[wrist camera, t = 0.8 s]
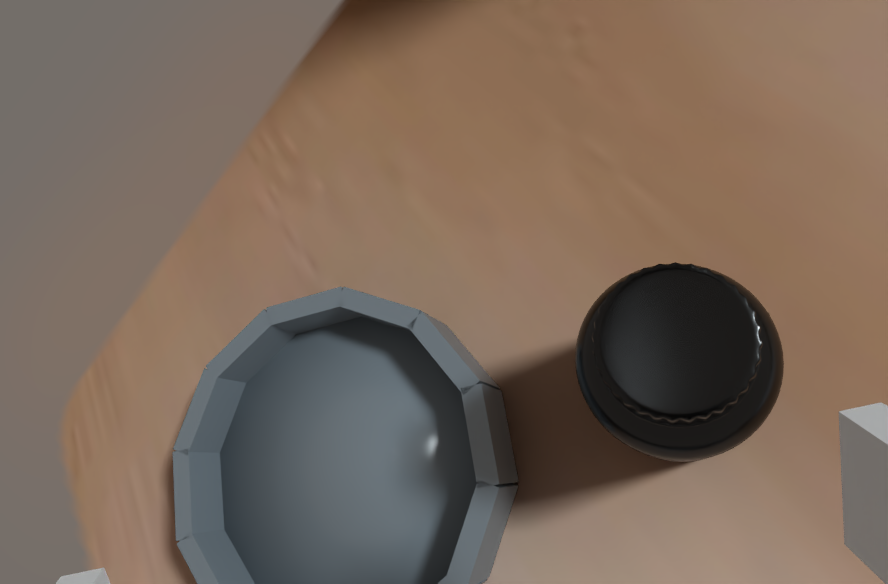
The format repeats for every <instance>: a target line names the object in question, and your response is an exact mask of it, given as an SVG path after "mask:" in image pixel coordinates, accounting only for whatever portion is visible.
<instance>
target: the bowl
mask: <svg viewBox="0 0 888 584" xmlns="http://www.w3.org/2000/svg"><path fill="white" fill-rule="evenodd" d="M266 309H267V310H265V309H264V310H263V311H262V312H261V313H260V314H259V315H258V316H257V317H255V318H254V319H253V320H252V321H251V322H250V323H249V324H248V325H247V326H246V327H245V328H244V329H243V330H242V331H241V332H240V333H239V334H238V335H237V336H236V337H235V338H234V339H233V340H232V341H231V342H230V343H229V344H228V345H227V346H226V347H225V348H224V349H223V350H222V351H221V352H220V353H219V354H218V355H217V356H216V357H215V358H213V359H212V360H211V361H210V362H209V363H208V364H207V365H206V367H207V369H205V368H204V370H203V373H202V376H201V378H200V381H199V383H198V386H197V388H196V391H195V394H194V396H193V399H192V401H191V404H190V407H189V409H188V412H187V414H186V417H185V419H184V422H183V425H182V427H181V430H180V432H179V435H178V438H177V440H176V443H175V445H174V448H173V449H174V450H176V451H174V452H173V476H174V503H175V530H176V541H179V540H180V541H179V542H178V543H177V546H178V547H179V549H180V551H181V553H182V555H183V557H184V559H185V561H186V563H187V565H188V566H189V568H190V570H191V572H192V574H193V576H194V578H195V580H196V582H197V584H483V583H484V582H485V581H486V580H487V578H488V577H489V576H490V573H491V570H492V567H493V564H494V560H495V557H496V554H497V551H498V548H499V545H500V542H501V539H502V535H503V532H504V529H505V526H506V523H507V520H508V517H509V514H510V510H511V507H512V504H513V501H514V498H515V495H516V492H517V489H518V485H516V484H514V483H516V482H519V481H518V476H517V470H516V465H515V460H514V455H513V449H512V444H511V439H510V433H509V428H508V423H507V418H506V412H505V407H504V402H503V396H502V391H500V390H499V389H500V388H499V386H498V385H497V384H496V383H495V382H494V380H493V379H492V378H491V377H490V376H489V375H488V373H487V372H486V371H485V370H484V369H483V368H482V366H481V365H480V364H479V363H478V362H477V360H476V359H475V358H474V357H473V356H472V355H471V353H470V352H469V351H468V350H467V349H466V348H465V346H464V345H463V344H462V343H461V342H460V341H459V339H458V338H457V337H456V336H455V335H454V333H453V332H452V331H451V330H450V329H449V328H448V326H447V325H445V324H444V323H442V322H440V321H438V320H437V319H435V318H433V317H431V316H429V315H428V314H426V313H424V312H422V311H421V310H418V309H415V308H412V307H408V306H405V305H402V304H399V303H395V302H392V301H389V300H385V299H382V298H379V297H376V296H372V295H369V294H366V293H363V292H359V291H356V290H353V289H350V288H346V287H338V288H335V289H331V290H327V291H324V292H320V293H317V294H313V295H310V296H306V297H303V298H299V299H296V300H292V301H289V302H285V303H281V304H278V305H274V306H271V307H267V308H266Z"/></svg>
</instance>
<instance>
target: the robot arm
mask: <svg viewBox="0 0 888 584" xmlns="http://www.w3.org/2000/svg"><path fill="white" fill-rule="evenodd" d="M839 429H840V452H841V475H842V498H843V521H844V544H845V545H846V546H847V547H848V548H849V549H850V550H851V551H852V552H853V553H854V554H855V555H856V556H857V557H858V558H859V559H860V560H861V561H862V562H864V563H865V564H866V565H867V566H868V567H869V568H870V569H871V570H872V571H873V572H874V573H875V574H876V575H877V576H878V577H879V578H880V579H881V580H882V581H883V582H884V583H885V584H888V406H886V405H884V404H883V403H876V404H872V405H867V406H862V407H858V408H853V409H848V410H844V411H839ZM56 584H110V581H109V579H108V576H107V574H106V571H105V569H104V568H99V569H94V570H90V571H85V572H80V573H76V574H71V575H67V576H62V577H60V578H59V580H58V581H57V582H56Z"/></svg>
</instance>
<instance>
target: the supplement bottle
mask: <svg viewBox="0 0 888 584" xmlns="http://www.w3.org/2000/svg"><path fill="white" fill-rule="evenodd" d="M575 364H576V373H577V378H578V382H579V386H580V389H581V392H582V394H583V397H584V399H585V401H586V403H587V405H588V406H589V408H590V410H591V411H592V413H593V414H594V416H595V417H596V418H597V420H598V421H599V422H600V423H601V424H602V426H603V427H604V428H605V429H606V430H607V431H608V432H610V433H611V434H612V435H613V436H614V437H616V438H617V439H618V440H620V441H621V442H623V443H624V444H626V445H628V446H629V447H631V448H633V449H635V450H637V451H639V452H642V453H644V454H647V455H649V456H652V457H655V458H658V459H662V460H667V461H674V462H690V461H697V460H702V459H706V458H709V457H712V456H715V455H718V454H721V453H724V452H726V451H728V450H730V449H732V448H734V447H736V446H737V445H739V444H741V443H742V442H743V441H745V440H746V439H747V438H749V437H750V436H751V435H752V434H753V433H754V432H755V431H756V430H757V429H758V428H759V427H760V426H761V425H762V424H763V422H764V421H765V420H766V418H767V417H768V415H769V414H770V412H771V410H772V408H773V406H774V405H775V403H776V400H777V398H778V395H779V392H780V388H781V385H782V379H783V368H784V361H783V351H782V346H781V341H780V338H779V335H778V332H777V329H776V327H775V325H774V323H773V321H772V319H771V317H770V315H769V314H768V312H767V311H766V309H765V308H764V307H763V305H762V304H761V303H760V302H759V301H758V299H757V298H756V297H755V296H754V295H753V294H752V293H751V292H749V291H748V290H747V289H746V288H745V287H743V286H742V285H741V284H739V283H738V282H736V281H735V280H733V279H731V278H729V277H728V276H726V275H724V274H721V273H719V272H717V271H714V270H711V269H708V268H704V267H700V266H696V265H693V264H679V263H676V262H675V263H672V264H658V265H656V266H652V267H648V268H643V269H641V270H638V271H636V272H634V273H631V274H629V275H627V276H625V277H623V278H622V279H620V280H619V281H617V282H616V283H614V284H613V285H611V286H610V287H609V288H608V289H607V290H606V291H605V292H604V293H602V294H601V295H600V297H599V298H598V299H597V300H596V301H595V302H594V304H593V305H592V307H591V308H590V310H589V311H588V313H587V315H586V317H585V318H584V321H583V323H582V325H581V328H580V331H579V335H578V339H577V344H576V352H575Z"/></svg>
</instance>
